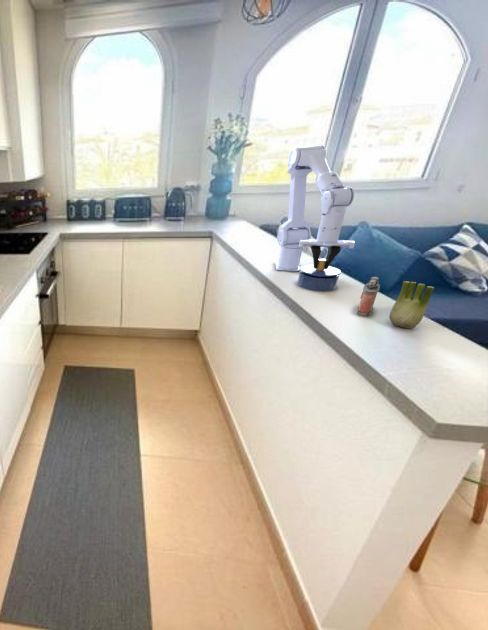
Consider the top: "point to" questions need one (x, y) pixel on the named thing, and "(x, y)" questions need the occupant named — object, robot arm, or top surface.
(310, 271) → the tin lid
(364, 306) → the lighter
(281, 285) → the top surface
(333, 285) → the bowl
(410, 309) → the fennel bulb
